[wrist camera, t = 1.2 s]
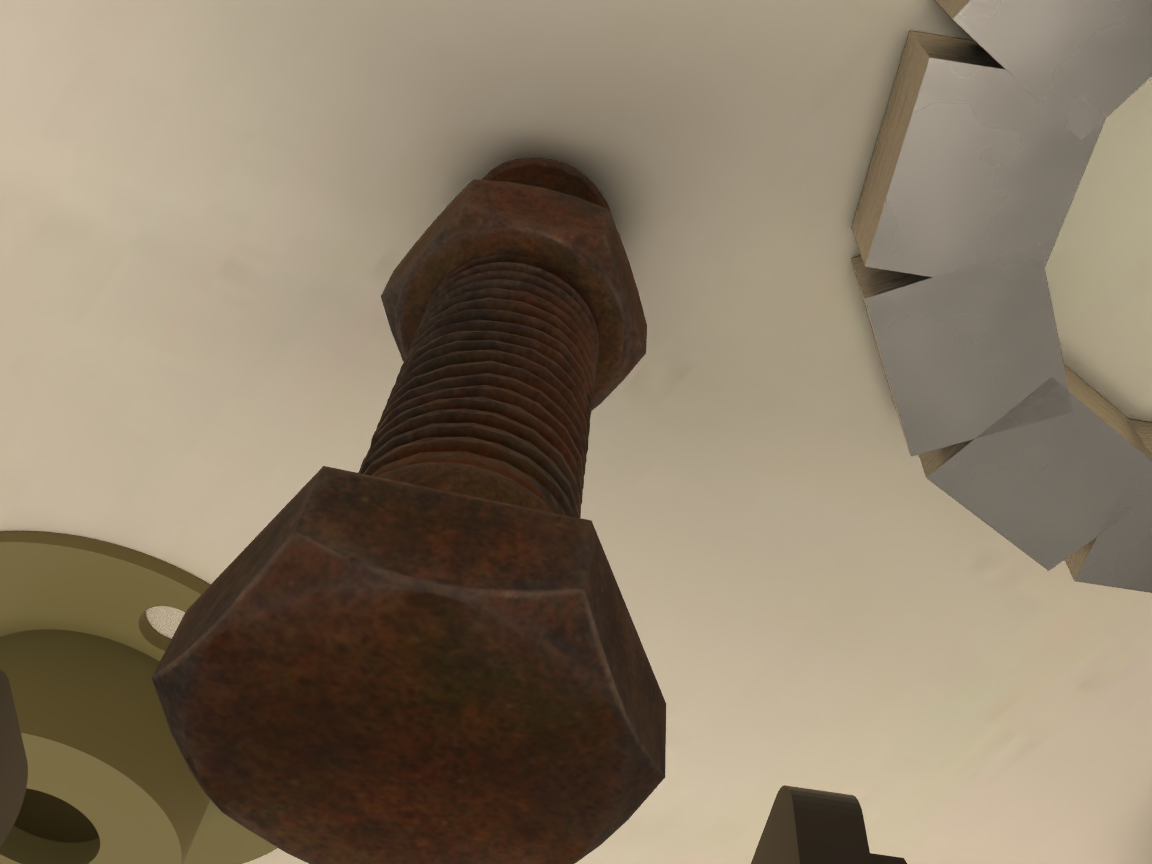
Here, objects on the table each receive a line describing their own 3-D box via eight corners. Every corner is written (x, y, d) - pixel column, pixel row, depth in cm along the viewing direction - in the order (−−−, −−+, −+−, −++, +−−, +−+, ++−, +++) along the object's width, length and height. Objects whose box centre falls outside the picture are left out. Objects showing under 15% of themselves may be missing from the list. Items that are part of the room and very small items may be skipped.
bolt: (539, 39, 22) (369, 468, 10) (715, 201, 24) (763, 746, 11) (374, 235, 25) (74, 767, 12) (542, 368, 26) (427, 959, 14)
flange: (157, 1029, 37) (393, 823, 30) (-295, 836, 33) (-144, 540, 25) (206, 903, 41) (426, 694, 34) (-192, 715, 36) (-36, 430, 29)
